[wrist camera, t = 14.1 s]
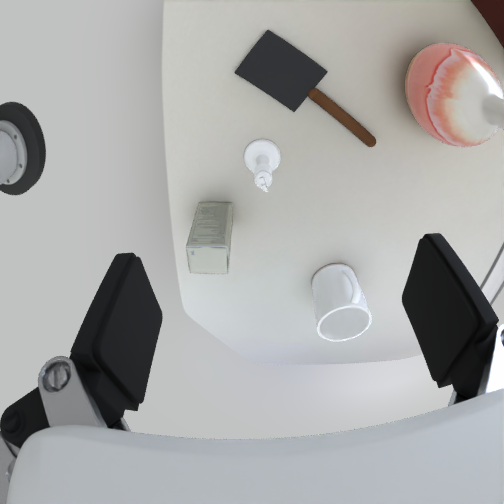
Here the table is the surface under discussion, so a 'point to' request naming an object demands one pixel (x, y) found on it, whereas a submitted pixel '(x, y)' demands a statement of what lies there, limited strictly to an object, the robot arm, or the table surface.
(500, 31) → the box
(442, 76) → the vase
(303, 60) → the spatula
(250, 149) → the chess piece
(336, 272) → the mug
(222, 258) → the box
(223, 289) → the table surface
